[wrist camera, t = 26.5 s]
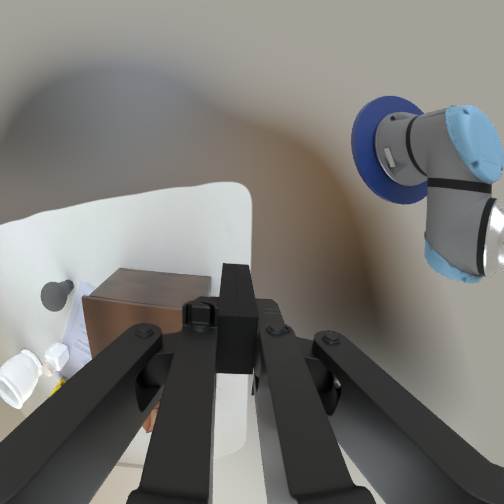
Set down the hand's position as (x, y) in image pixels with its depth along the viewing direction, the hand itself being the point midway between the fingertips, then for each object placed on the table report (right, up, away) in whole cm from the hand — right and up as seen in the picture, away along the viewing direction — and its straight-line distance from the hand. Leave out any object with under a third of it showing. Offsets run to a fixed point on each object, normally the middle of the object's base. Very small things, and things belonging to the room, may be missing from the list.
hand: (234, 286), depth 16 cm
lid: (-15, -11, +21) cm, 28 cm away
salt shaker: (-44, -21, +35) cm, 60 cm away
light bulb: (-36, -4, +31) cm, 48 cm away
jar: (-59, -28, +35) cm, 74 cm away
